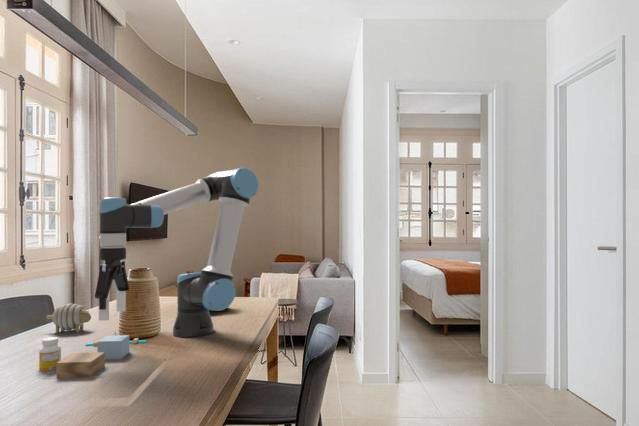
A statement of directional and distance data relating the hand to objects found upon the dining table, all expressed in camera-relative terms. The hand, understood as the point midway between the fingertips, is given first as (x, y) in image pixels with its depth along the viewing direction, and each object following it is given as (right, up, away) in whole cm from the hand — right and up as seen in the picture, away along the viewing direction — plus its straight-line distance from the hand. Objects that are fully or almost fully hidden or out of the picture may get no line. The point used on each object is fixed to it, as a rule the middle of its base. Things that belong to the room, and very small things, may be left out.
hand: (112, 315), depth 143 cm
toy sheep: (-35, -15, +39) cm, 54 cm away
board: (-2, -14, -15) cm, 21 cm away
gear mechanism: (-8, -15, +21) cm, 27 cm away
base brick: (-2, -12, -15) cm, 20 cm away
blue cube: (0, -14, 0) cm, 14 cm away
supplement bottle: (-13, -14, -11) cm, 22 cm away
